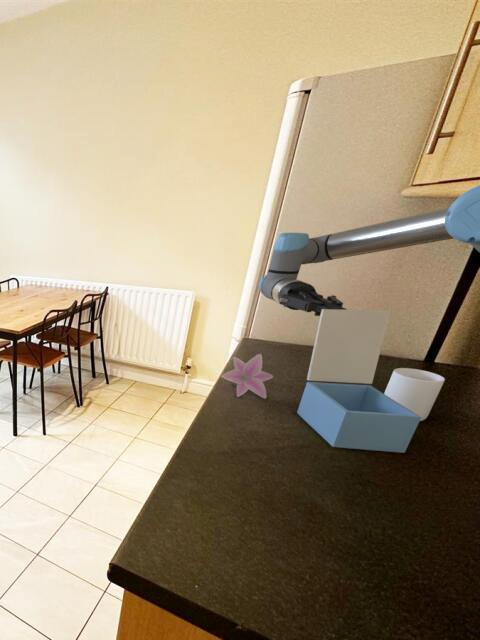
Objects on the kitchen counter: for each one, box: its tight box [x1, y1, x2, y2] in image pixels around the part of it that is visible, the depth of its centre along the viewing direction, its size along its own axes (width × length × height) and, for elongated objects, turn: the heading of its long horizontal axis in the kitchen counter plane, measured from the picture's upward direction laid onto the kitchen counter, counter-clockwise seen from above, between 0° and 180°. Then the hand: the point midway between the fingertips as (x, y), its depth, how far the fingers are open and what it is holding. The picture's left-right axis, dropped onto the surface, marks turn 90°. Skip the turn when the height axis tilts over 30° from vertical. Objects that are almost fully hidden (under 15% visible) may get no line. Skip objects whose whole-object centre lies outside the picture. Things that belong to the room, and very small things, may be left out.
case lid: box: [306, 309, 391, 385], centre depth 94 cm, size 16×13×1 cm
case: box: [296, 381, 421, 454], centre depth 91 cm, size 16×13×8 cm
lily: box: [221, 353, 274, 399], centre depth 111 cm, size 12×12×10 cm
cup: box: [383, 367, 446, 422], centre depth 98 cm, size 8×12×10 cm
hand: (342, 315), depth 96 cm, fingers closed
